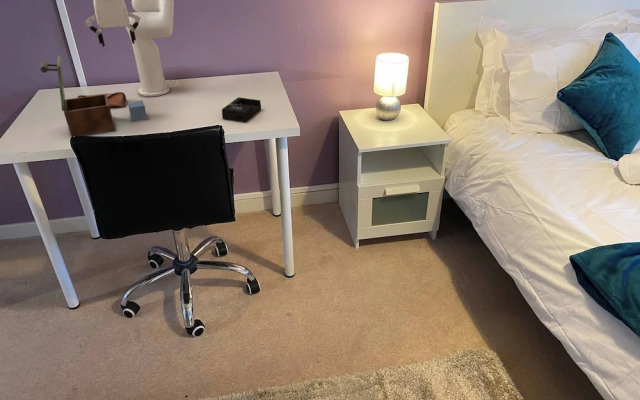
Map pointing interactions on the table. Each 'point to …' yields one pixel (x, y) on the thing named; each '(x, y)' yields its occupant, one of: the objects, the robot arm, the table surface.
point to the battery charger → (241, 109)
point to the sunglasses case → (113, 99)
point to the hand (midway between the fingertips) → (118, 44)
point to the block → (137, 110)
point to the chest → (89, 115)
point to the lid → (60, 75)
